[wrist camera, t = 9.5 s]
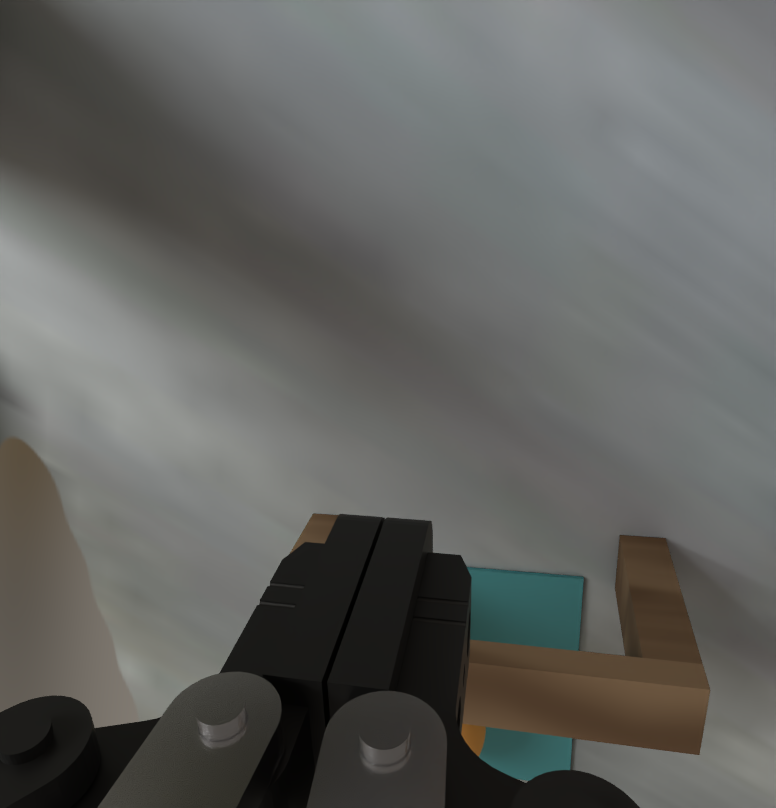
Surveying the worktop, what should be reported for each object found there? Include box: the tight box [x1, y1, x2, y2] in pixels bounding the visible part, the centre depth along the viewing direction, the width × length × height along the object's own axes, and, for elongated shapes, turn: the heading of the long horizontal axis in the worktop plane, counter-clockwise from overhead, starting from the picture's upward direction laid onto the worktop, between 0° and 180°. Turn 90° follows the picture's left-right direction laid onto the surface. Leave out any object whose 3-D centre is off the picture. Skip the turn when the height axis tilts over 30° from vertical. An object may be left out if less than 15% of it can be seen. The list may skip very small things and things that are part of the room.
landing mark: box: [467, 567, 584, 781], centre depth 36 cm, size 10×14×1 cm
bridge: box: [290, 514, 710, 755], centre depth 29 cm, size 3×17×9 cm, turn 93°
